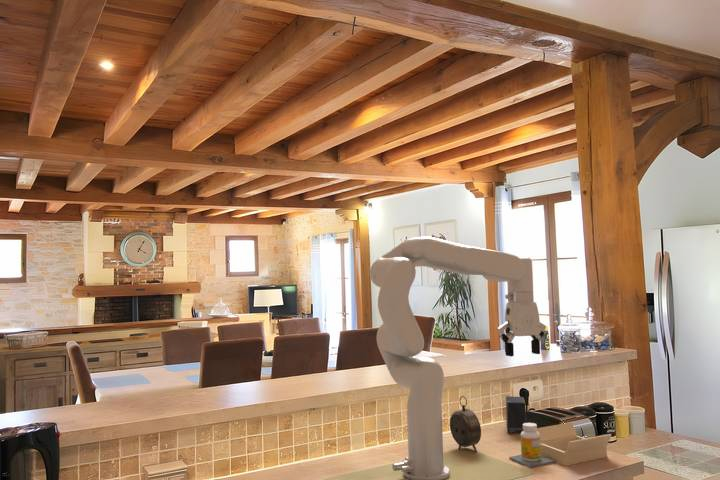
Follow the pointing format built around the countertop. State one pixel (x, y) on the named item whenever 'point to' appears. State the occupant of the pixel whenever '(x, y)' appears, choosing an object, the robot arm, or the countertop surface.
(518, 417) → the small box
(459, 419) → the alarm clock
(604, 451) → the carton
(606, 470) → the countertop surface
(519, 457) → the plate
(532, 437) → the supplement bottle
